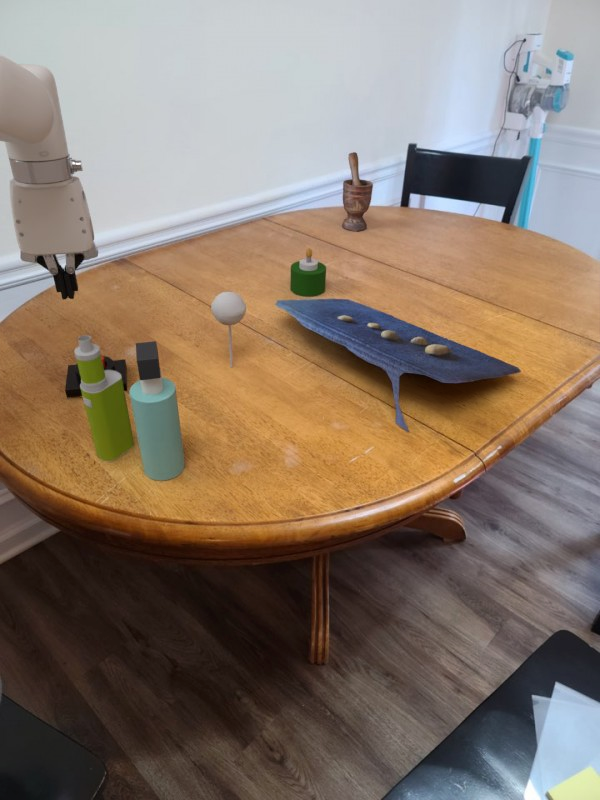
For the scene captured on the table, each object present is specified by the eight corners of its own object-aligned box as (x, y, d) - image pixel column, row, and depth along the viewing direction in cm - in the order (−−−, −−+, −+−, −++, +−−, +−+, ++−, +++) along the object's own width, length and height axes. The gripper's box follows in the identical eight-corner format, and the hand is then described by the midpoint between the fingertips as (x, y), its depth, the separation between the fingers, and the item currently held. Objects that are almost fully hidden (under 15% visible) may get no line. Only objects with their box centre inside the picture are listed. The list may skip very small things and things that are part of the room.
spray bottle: (142, 456, 85) (122, 341, 73) (183, 450, 86) (169, 336, 75) (144, 483, 80) (122, 365, 69) (186, 477, 82) (172, 360, 70)
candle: (283, 287, 134) (283, 247, 129) (308, 279, 139) (310, 239, 133) (306, 299, 130) (308, 258, 124) (332, 290, 134) (334, 249, 128)
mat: (253, 346, 116) (263, 292, 112) (342, 339, 135) (353, 292, 131) (430, 444, 88) (451, 376, 84) (511, 417, 107) (532, 361, 102)
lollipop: (254, 365, 106) (252, 291, 98) (234, 379, 102) (230, 304, 94) (229, 354, 109) (225, 282, 100) (208, 367, 105) (202, 294, 96)
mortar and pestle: (328, 222, 174) (332, 153, 162) (350, 218, 178) (356, 150, 166) (351, 233, 166) (357, 162, 154) (374, 229, 170) (381, 158, 158)
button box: (66, 398, 96) (62, 381, 94) (69, 373, 103) (65, 356, 100) (127, 390, 99) (124, 374, 96) (126, 366, 105) (123, 350, 103)
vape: (91, 455, 85) (62, 340, 73) (121, 434, 89) (98, 322, 77) (108, 465, 83) (81, 348, 71) (138, 443, 87) (117, 329, 76)
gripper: (100, 163, 81) (119, 282, 92) (-13, 165, 78) (19, 289, 88) (99, 175, 75) (119, 302, 86) (-24, 178, 72) (12, 310, 82)
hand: (68, 295), depth 87 cm, fingers closed
